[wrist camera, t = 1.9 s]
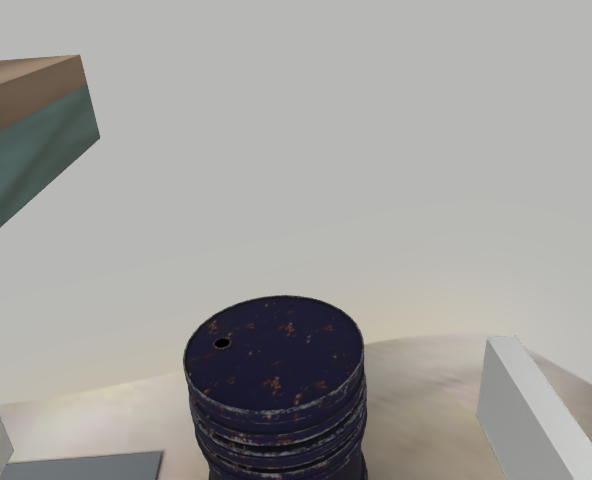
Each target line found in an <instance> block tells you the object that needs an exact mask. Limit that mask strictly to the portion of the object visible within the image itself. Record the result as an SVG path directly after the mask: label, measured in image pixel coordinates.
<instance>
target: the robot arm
mask: <svg viewBox="0 0 592 480" xmlns="http://www.w3.org/2000/svg"><path fill="white" fill-rule="evenodd" d="M477 418H478V420H479V422H480V424H481V426H482V428H483V431H484V433H485V435H486V437H487V439H488V441H489V443H490V445H491V447H492V449H493V452H494V454H495V456H496V458H497V460H498V462H499V464H500V466H501V468H502V470H503V472H504V475H505V477H506V479H507V480H592V443H591V441H590V440H589V439H588V437H587V436H586V434H585V433H584V431H583V430H582V429H581V427H580V426H579V424H578V423H577V421H576V420H575V419H574V417H573V416H572V414H571V413H570V412H569V410H568V409H567V407H566V406H565V404H564V403H563V402H562V400H561V399H560V397H559V396H558V394H557V393H556V392H555V390H554V389H553V387H552V386H551V384H550V383H549V382H548V380H547V379H546V377H545V376H544V375H543V373H542V372H541V370H540V369H539V367H538V366H537V365H536V363H535V362H534V360H533V359H532V357H531V356H530V355H529V353H528V352H527V350H526V349H525V348H524V346H523V345H522V343H521V342H520V340H519V339H518V338H517V336H506V337H492V338H487V342H486V350H485V357H484V365H483V372H482V380H481V387H480V395H479V402H478V410H477ZM13 452H14V449H13V447H12V444H11V442H10V440H9V437H8V435H7V432H6V430H5V428H4V425H3V423H2V421H1V418H0V475H1V473H2V471H3V470H4V468H5V466H6V464H7V462H8V461H9V459H10V457H11V455H12V454H13Z"/></svg>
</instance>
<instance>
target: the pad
mask: <svg viewBox="0 0 592 480" xmlns="http://www.w3.org/2000/svg"><path fill="white" fill-rule="evenodd" d="M161 458H162V453H161V452H151V453H138V454H126V455H114V456H101V457H89V458H77V459H64V460H52V461H40V462H28V463H15V464H6V466H5V468H4V470H3V471H2V473H1V475H0V480H156V479H157V475H158V471H159V467H160V462H161Z"/></svg>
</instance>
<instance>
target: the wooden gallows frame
mask: <svg viewBox="0 0 592 480" xmlns="http://www.w3.org/2000/svg"><path fill="white" fill-rule="evenodd" d="M98 139H100V135H99V131H98V127H97V123H96V118H95V114H94V110H93V106H92V102H91V98H90V94H89V90H88V85H87V81H86V77H85V73H84V69H83V65H82V61H81V57H80V55H68V56H55V57H42V58H30V59H16V60H2V61H0V227H1V226H3V224H5V223H6V222H7V221H8V220H9V219H10V218H11V217H13V216H14V215H15V214H16V213H17V212H18V211H19V210H20V209H22V208H23V207H24V206H25V205H26V204H27V203H28V202H29V201H30V200H32V199H33V198H34V197H35V196H36V195H37V194H38V193H39V192H41V191H42V190H43V189H44V188H45V187H46V186H47V185H48V184H49V183H51V182H52V181H53V180H54V179H55V178H56V177H57V176H58V175H59V174H61V173H62V172H63V171H64V170H65V169H66V168H67V167H68V166H70V165H71V164H72V163H73V162H74V161H75V160H76V159H77V158H79V157H80V156H81V155H82V154H83V153H84V152H85V151H86V150H87V149H88V148H90V147H91V146H92V145H93V144H94V143H95V142H96V141H97V140H98Z"/></svg>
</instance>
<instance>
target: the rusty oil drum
mask: <svg viewBox="0 0 592 480" xmlns="http://www.w3.org/2000/svg"><path fill="white" fill-rule="evenodd" d="M183 365H184V372H185V376H186V381H187V384H188V390H189V403H190V410H191V415H192V419H193V423H194V426H195V435H196V439H197V442H198V445H199V447H200V449H201V450H202V453H203V455H204V457H205V458H206V460H207V462H208V464H209V469H210V471H209V480H368V473H367V468H366V463H365V460H364V456H363V453H362V451H361V441H362V438H363V435H364V431H365V427H366V421H367V406H366V401H367V390H366V389H367V386H366V376H365V373H364V342H363V337H362V334H361V331H360V329H359V327H358V326H357V324H356V323H355V322H354V321H353V319H351V317H350V316H348V315H347V314H346V313H345V312H343V311H342V310H341V309H339V308H337V307H335V306H333V305H331V304H328V303H326V302H323V301H320V300H317V299H313V298H308V297H301V296H289V295H288V296H287V295H282V296H268V297H261V298H256V299H251V300H247V301H244V302H241V303H238V304H235V305H232V306H230V307H228V308H226V309H224V310H222V311H220V312H218V313H216V314H215V315H213V316H212V317H210V318H209V319H208V320H206V321H205V322H204V323H203V324H202V325H200V326H199V328H198V329H197V330H196V331H195V332H194V333H193V335H192V336H191V338H190V339H189V341H188V343H187V346H186V348H185V350H184V357H183Z"/></svg>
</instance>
